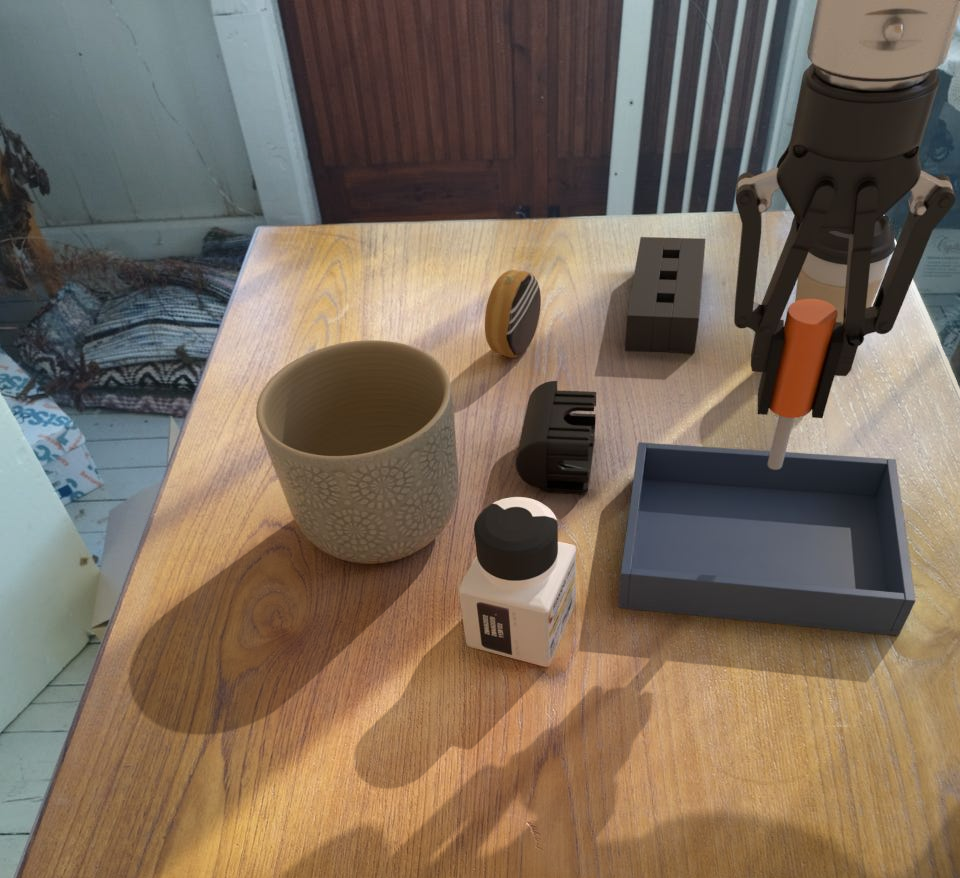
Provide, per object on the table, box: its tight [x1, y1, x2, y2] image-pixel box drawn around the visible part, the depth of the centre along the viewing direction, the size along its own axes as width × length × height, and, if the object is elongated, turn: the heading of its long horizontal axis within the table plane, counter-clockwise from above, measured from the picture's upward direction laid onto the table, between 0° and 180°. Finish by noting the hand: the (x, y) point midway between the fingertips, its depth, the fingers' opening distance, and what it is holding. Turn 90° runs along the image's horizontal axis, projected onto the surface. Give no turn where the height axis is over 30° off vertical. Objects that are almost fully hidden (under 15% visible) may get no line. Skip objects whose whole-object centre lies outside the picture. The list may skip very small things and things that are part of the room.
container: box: [458, 496, 577, 668], centre depth 72 cm, size 8×8×13 cm
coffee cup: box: [794, 214, 896, 324], centre depth 93 cm, size 9×9×15 cm
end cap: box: [515, 380, 597, 495], centre depth 88 cm, size 10×7×7 cm
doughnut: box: [484, 269, 542, 359], centre depth 100 cm, size 9×4×10 cm, turn 153°
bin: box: [617, 441, 916, 637], centre depth 79 cm, size 24×18×4 cm
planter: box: [255, 339, 459, 565], centre depth 81 cm, size 17×17×15 cm
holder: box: [624, 236, 707, 354], centre depth 105 cm, size 8×18×4 cm, turn 169°
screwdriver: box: [767, 299, 838, 470], centre depth 67 cm, size 3×3×14 cm
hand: (789, 405), depth 68 cm, fingers closed on screwdriver, 3 cm apart
